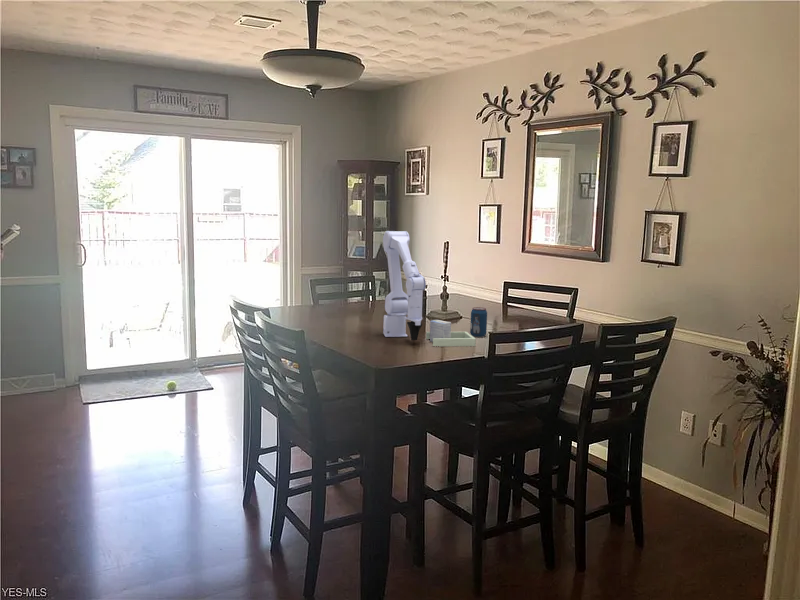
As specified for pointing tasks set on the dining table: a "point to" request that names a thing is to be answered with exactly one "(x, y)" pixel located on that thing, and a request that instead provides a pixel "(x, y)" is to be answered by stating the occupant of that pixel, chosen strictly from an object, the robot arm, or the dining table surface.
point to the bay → (454, 340)
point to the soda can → (478, 322)
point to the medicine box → (440, 329)
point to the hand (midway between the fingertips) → (414, 339)
